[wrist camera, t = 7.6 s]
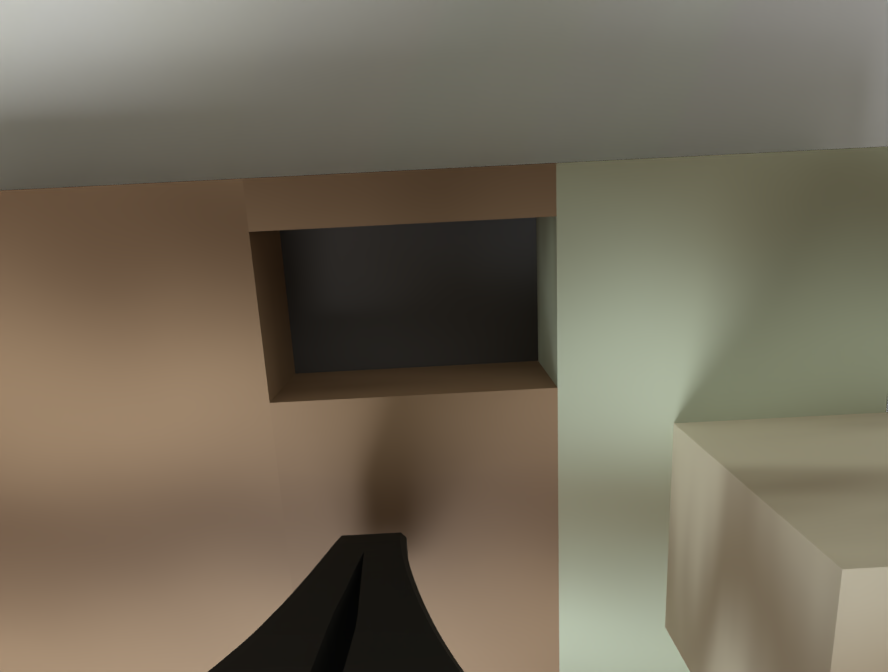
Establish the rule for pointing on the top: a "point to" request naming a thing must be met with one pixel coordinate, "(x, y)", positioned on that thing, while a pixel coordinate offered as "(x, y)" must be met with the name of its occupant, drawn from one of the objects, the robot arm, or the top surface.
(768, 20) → the top surface
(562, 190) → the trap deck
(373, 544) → the robot arm
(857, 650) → the cream block
